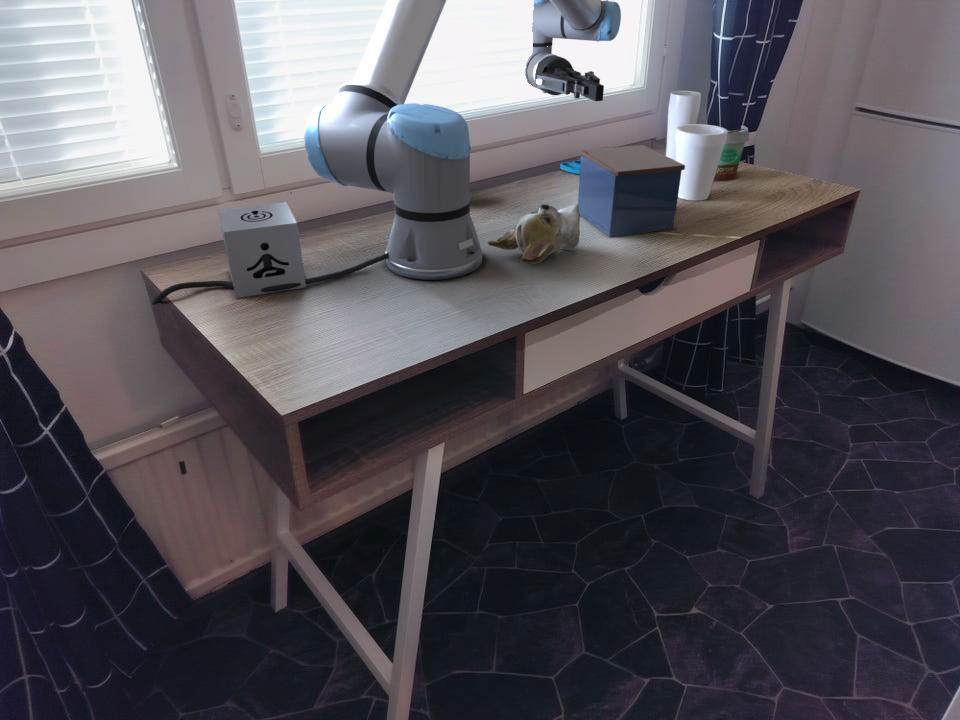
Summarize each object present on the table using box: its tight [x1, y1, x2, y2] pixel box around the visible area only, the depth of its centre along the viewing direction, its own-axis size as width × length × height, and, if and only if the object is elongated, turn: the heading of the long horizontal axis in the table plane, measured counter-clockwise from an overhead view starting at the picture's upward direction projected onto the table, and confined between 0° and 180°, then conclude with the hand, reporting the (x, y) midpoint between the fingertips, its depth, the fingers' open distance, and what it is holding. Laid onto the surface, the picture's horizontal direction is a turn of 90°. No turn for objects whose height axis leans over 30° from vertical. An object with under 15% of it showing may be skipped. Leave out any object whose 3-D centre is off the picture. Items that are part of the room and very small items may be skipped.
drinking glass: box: [665, 90, 702, 161], centre depth 162 cm, size 7×7×15 cm
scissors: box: [559, 159, 581, 175], centre depth 155 cm, size 7×1×20 cm
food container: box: [713, 124, 750, 181], centre depth 152 cm, size 12×6×10 cm, turn 111°
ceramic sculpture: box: [487, 203, 581, 265], centre depth 114 cm, size 11×9×15 cm
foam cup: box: [675, 123, 728, 202], centre depth 140 cm, size 10×9×13 cm
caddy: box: [577, 154, 682, 238], centre depth 128 cm, size 14×13×11 cm
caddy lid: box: [580, 144, 685, 176], centre depth 125 cm, size 14×13×1 cm
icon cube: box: [217, 201, 307, 299], centre depth 106 cm, size 10×10×10 cm
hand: (599, 93), depth 132 cm, fingers closed
